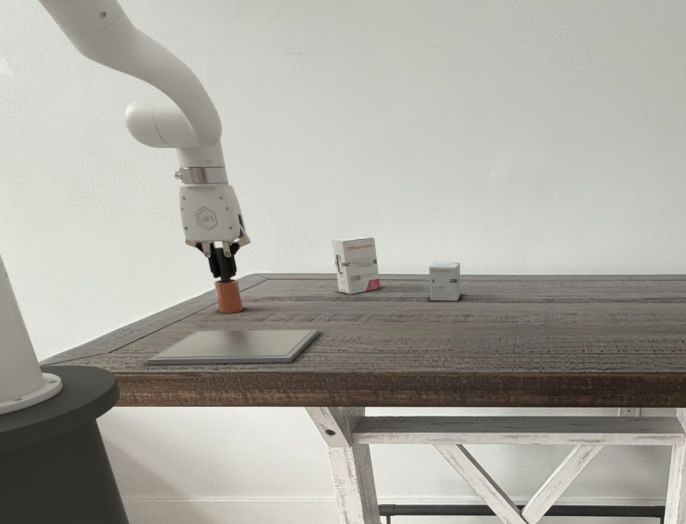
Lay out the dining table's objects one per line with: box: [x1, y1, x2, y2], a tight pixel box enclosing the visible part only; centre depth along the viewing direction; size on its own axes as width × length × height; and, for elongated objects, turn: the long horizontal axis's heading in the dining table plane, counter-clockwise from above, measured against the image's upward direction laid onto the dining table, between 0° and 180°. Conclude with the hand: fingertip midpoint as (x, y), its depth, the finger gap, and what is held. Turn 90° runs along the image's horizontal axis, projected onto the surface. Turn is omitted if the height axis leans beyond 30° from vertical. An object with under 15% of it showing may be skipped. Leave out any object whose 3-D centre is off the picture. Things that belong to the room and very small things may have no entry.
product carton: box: [428, 261, 461, 302], centre depth 121 cm, size 6×6×7 cm
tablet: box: [147, 328, 320, 365], centre depth 90 cm, size 15×21×1 cm
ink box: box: [331, 236, 381, 295], centre depth 128 cm, size 9×5×12 cm, turn 139°
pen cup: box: [213, 278, 244, 314], centre depth 112 cm, size 4×4×6 cm
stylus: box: [214, 246, 232, 283], centre depth 111 cm, size 2×2×11 cm
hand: (225, 276), depth 110 cm, fingers closed on stylus, 1 cm apart
